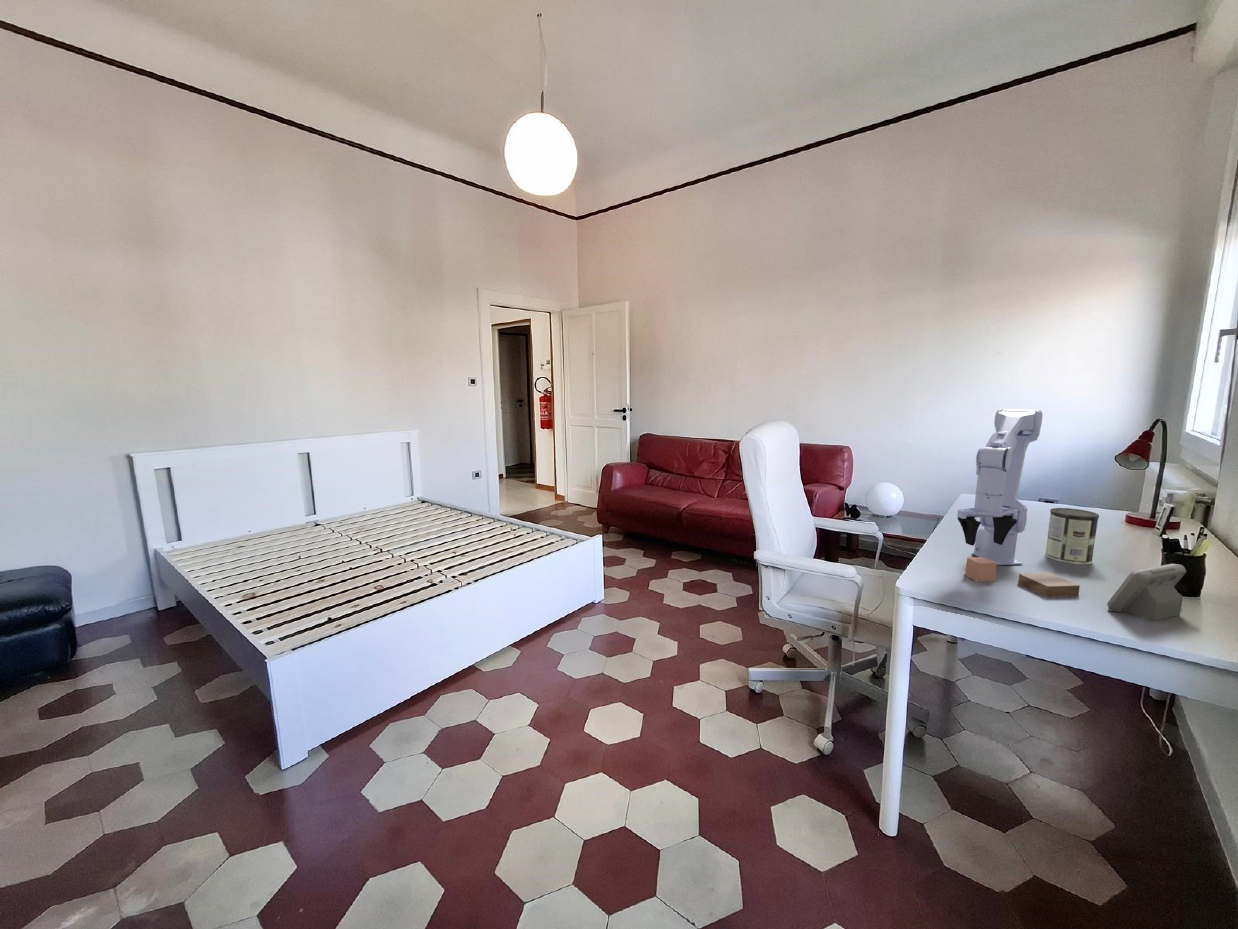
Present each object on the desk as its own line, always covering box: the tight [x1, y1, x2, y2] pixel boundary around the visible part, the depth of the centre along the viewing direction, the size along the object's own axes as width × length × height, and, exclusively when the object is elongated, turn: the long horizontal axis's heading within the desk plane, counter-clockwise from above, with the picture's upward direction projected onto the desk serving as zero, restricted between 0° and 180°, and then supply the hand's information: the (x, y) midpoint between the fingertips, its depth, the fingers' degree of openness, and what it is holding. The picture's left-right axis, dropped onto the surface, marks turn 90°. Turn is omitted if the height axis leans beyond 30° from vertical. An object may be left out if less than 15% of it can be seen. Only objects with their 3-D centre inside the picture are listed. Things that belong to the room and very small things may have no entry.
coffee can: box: [1044, 507, 1100, 566], centre depth 140 cm, size 10×10×14 cm
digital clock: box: [1107, 563, 1187, 621], centre depth 108 cm, size 16×9×11 cm, turn 95°
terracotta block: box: [964, 556, 998, 583], centre depth 128 cm, size 4×4×5 cm
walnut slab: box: [1018, 572, 1081, 598], centre depth 120 cm, size 8×8×3 cm
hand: (983, 543), depth 126 cm, fingers open, 7 cm apart
